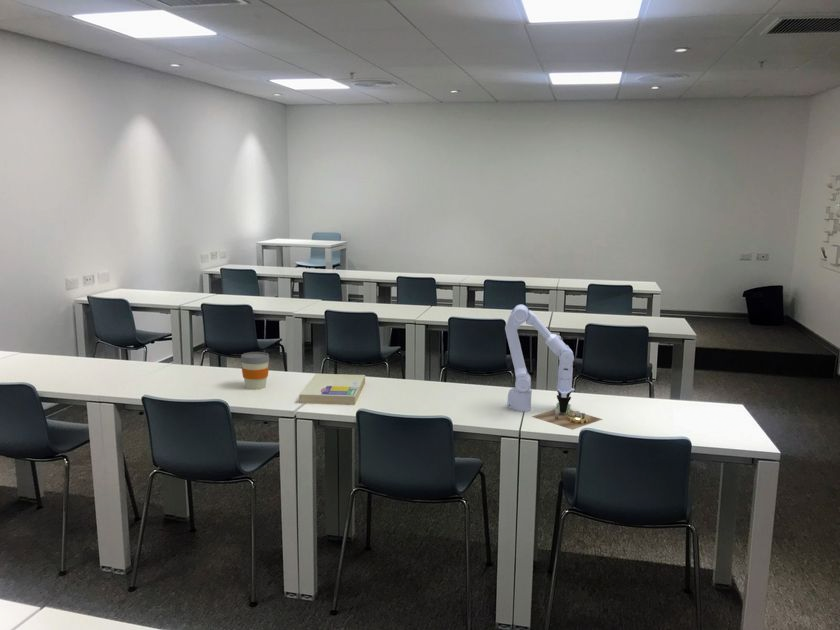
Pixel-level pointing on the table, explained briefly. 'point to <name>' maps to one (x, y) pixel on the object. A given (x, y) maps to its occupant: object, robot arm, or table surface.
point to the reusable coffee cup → (255, 369)
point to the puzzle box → (333, 389)
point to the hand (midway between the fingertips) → (563, 410)
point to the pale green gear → (566, 410)
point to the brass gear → (577, 418)
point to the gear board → (564, 418)
